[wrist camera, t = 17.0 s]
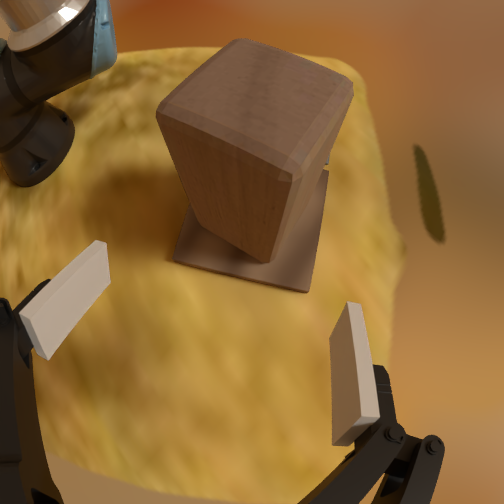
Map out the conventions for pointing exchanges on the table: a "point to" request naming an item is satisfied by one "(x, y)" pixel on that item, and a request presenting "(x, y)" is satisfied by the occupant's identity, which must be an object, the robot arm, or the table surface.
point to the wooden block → (253, 140)
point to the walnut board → (247, 267)
